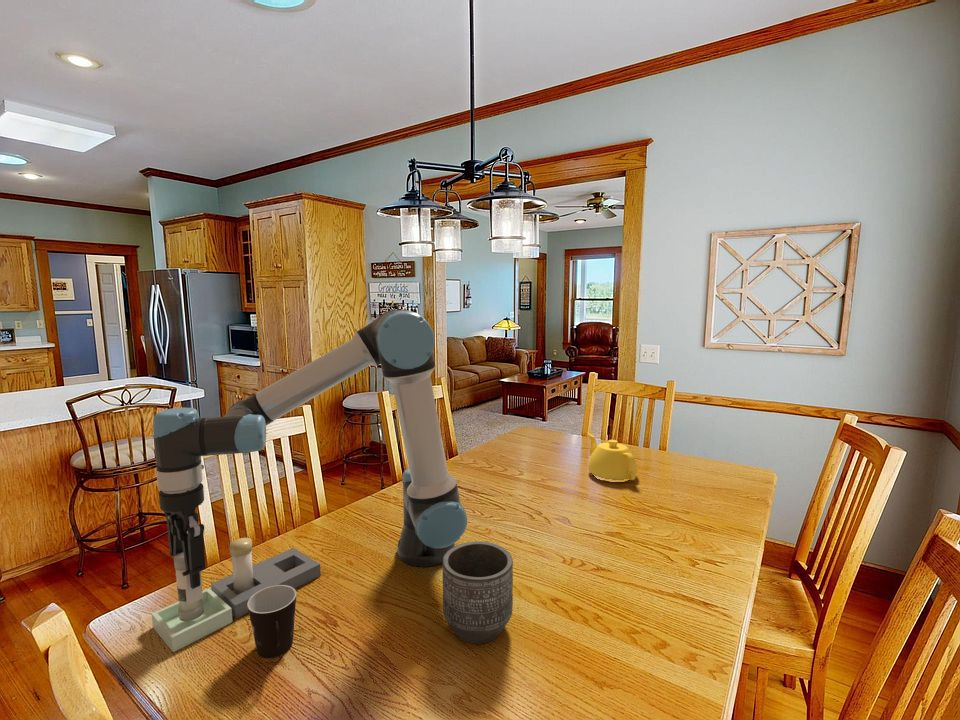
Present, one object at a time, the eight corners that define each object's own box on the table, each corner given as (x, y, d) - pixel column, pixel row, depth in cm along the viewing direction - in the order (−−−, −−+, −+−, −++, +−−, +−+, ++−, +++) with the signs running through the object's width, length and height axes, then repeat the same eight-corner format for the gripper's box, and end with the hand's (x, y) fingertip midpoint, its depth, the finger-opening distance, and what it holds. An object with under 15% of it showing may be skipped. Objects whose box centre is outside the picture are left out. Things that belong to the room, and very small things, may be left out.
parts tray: (232, 622, 99) (231, 608, 99) (173, 652, 91) (171, 637, 90) (210, 600, 106) (209, 587, 106) (152, 627, 98) (151, 613, 97)
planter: (457, 661, 89) (457, 587, 87) (433, 615, 101) (433, 549, 99) (524, 639, 94) (526, 569, 92) (494, 598, 107) (494, 535, 105)
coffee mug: (260, 631, 96) (257, 586, 95) (304, 629, 97) (301, 583, 96) (236, 677, 85) (232, 626, 83) (286, 674, 86) (283, 623, 84)
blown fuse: (207, 613, 98) (203, 554, 97) (183, 624, 95) (178, 563, 93) (198, 604, 101) (194, 546, 99) (175, 615, 98) (170, 555, 96)
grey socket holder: (320, 575, 116) (318, 524, 114) (236, 618, 100) (232, 560, 99) (294, 558, 123) (291, 510, 121) (211, 596, 108) (207, 542, 106)
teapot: (570, 468, 188) (571, 434, 186) (604, 461, 197) (605, 428, 195) (615, 490, 166) (617, 453, 165) (652, 481, 175) (653, 445, 173)
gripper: (220, 491, 92) (227, 603, 95) (185, 471, 103) (193, 572, 106) (176, 504, 86) (186, 623, 89) (144, 481, 97) (154, 588, 100)
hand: (190, 595), depth 97 cm, fingers closed on blown fuse, 4 cm apart
